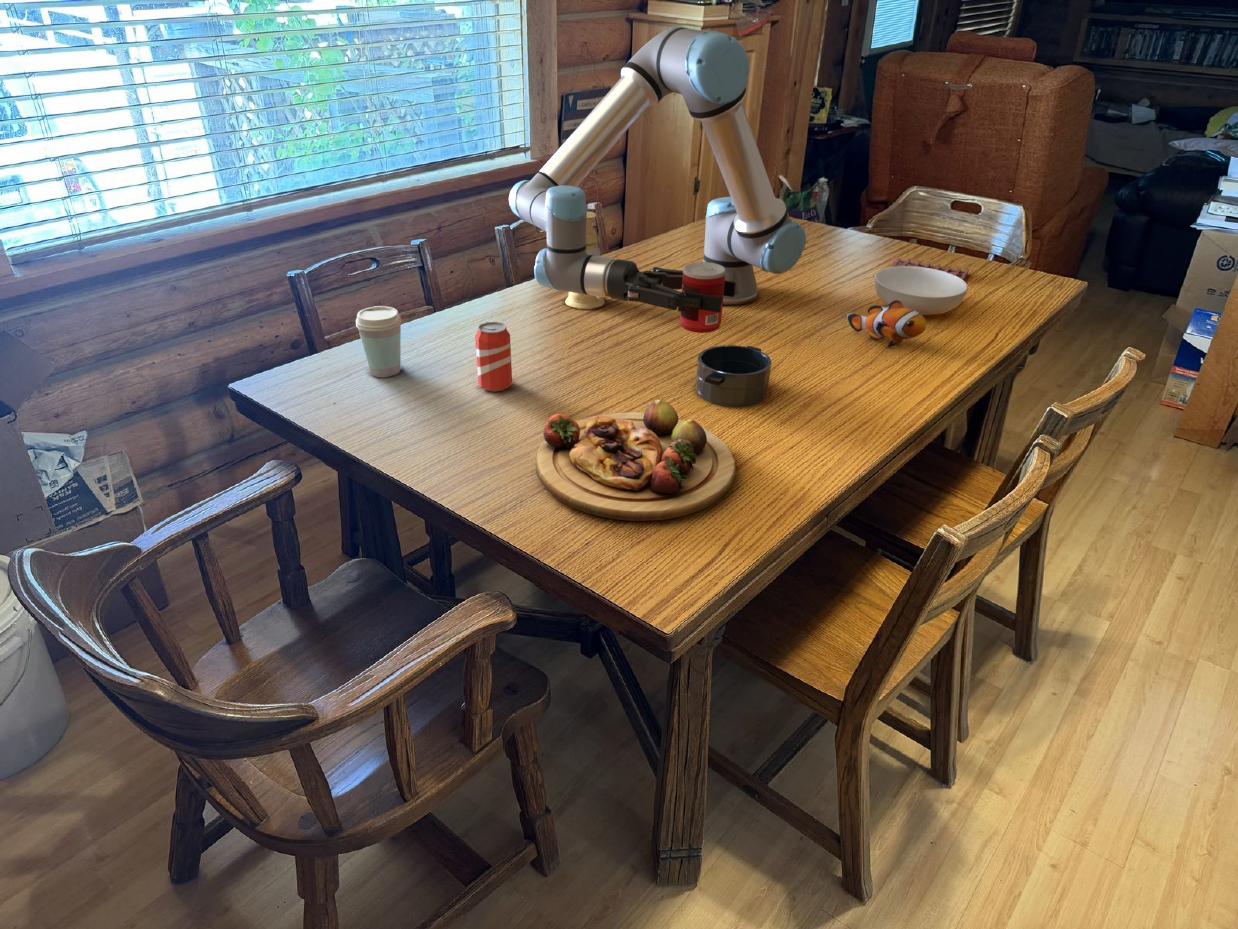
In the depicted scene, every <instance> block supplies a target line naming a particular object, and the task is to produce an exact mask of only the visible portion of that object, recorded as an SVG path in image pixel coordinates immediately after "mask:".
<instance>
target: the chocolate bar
mask: <svg viewBox="0 0 1238 929" xmlns="http://www.w3.org/2000/svg"><path fill="white" fill-rule="evenodd" d="M898 266H914V267H924V268H931V269H936V270H940V271H944V272H947V273H950V274H953V275H955V276H957V277H959V278H961V279H962V280H963V281H965V280H967V278H968V276H969V270H970V269H969V268H965V270H962V268H961V267H957V269H955V268H951V265H947V267H944V266H941V264H940V263H937V264H936V265H931V262H929V261H928V262H926V263H921V260H917V261H916V262H913V261H911V259H910V258H907V259H906V260H901V259H900V257H897V258H895V259H894V260H893V262H892V264H891V265H890V267H898Z"/></svg>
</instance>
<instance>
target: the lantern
mask: <svg viewBox="0 0 1238 929" xmlns="http://www.w3.org/2000/svg"><path fill="white" fill-rule="evenodd" d="M586 177H587V178H589V179H591V180H593V181H594V182H595V183H596V187H597V200H596V206H595V212H592V211H587V219H586V254H588V255H595V256H601V251H600V248H599V244H598V241H599V240H598V238H597V233H598V232H597V231H598V224H597V216H598V215H597V210H598V205H599V199H600V198H599V195H600V194H599V182H598V181H597V180H596V179H595V178H593V177H591V176H589V175H587V176H586ZM586 204H588V202H587V200H586ZM594 219H595V220H594ZM594 221H595V226H594V225H593V223H594ZM605 301H606V300H605V299H604V297H601V298H600V299H598V298H597V297H596V296H594V295H587V294H581V293H575V292H568V296H567V298H565V304H566V305H567V306H569V307H570V308H574V309H576V310H577V309H578V310H593V309H599V308H601V307H603V305H604V304H605Z"/></svg>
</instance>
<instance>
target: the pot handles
mask: <svg viewBox="0 0 1238 929" xmlns="http://www.w3.org/2000/svg"><path fill="white" fill-rule="evenodd" d="M746 347H749V348H753V349H756V350H759V351H761V352H762V348H760V347H756V346H752V345H747V346H746ZM724 378H725V377H722V376H718V375H714V374H710V375H708V376H707V377H706V378H705V382H707V383H710V384H714V385H717V386H719V385H721V384H722V383H723V382H724Z"/></svg>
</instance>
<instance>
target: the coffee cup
mask: <svg viewBox="0 0 1238 929" xmlns="http://www.w3.org/2000/svg"><path fill="white" fill-rule="evenodd" d="M402 323H403V319H402V316H401V315H400V313H399V311H398V309H396V308H394V307H392V306H385V305H377V306H376V305H375V306H370V307H365V308H362V309H361V310H359V311H358V312H357V314H356V319H355V326H356V328H357V329H358V333H359V338H360V341H361V344H362V348H363V352H364V356H365V359H366V363H367V367H368V371H369V373H370V375H371V376H374V377H377V378H388V377H389V378H390V377H392V376H395V375H398V374H399V373H400V372H401V349H402V348H401V344H402V343H401V342H402V341H401V340H402V339H401V330H402V329H401V326H402Z"/></svg>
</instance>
